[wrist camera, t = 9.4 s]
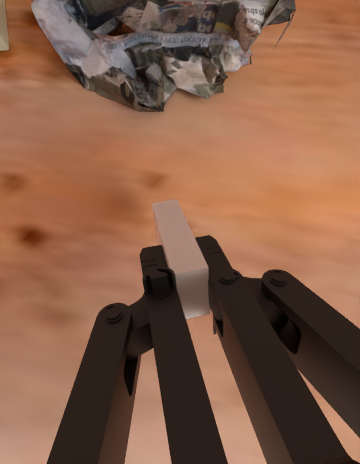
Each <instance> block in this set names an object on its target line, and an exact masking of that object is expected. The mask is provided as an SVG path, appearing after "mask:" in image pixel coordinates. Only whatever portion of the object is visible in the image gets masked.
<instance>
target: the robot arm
mask: <svg viewBox="0 0 360 464" xmlns="http://www.w3.org/2000/svg"><path fill="white" fill-rule="evenodd" d="M152 208H153V214H154V221H155V228H156V235H157V241H158V246H152V247H147V248H143V249H142V251H141V253H140V260H141V266H142V273H143V280H142V281H143V285H144V290H145V292H144V294H143V296H142V297H141V298H140V299H139V300H138V301H137V302H135V303H134V304H132V305H130V306H127V305H125V304H123V303H114V304H110V305H108V306H106V307H104V308H103V309H102V310H101V311H100V312H99V314H98V315H97V318H96V321H95V324H94V327H93V330H92V332H91V335H90V338H89V341H88V344H87V347H86V350H85V353H84V356H83V359H82V362H81V365H80V368H79V370H78V373H77V376H76V379H75V382H74V385H73V388H72V391H71V394H70V397H69V400H68V403H67V406H66V409H65V411H64V414H63V417H62V420H61V423H60V426H59V429H58V432H57V435H56V438H55V441H54V444H53V447H52V449H51V452H50V455H49V458H48V461H47V464H124V463H125V456H126V450H127V444H128V437H129V431H130V425H131V418H132V412H133V406H134V399H135V393H136V387H137V380H138V374H139V368H140V361H141V355H142V354H143V353H145V352H147V351H149V350H150V349H152V348H154V353H155V360H156V366H157V372H158V379H159V385H160V392H161V398H162V405H163V411H164V417H165V424H166V430H167V437H168V443H169V449H170V456H171V462H172V464H228V462H227V459H226V456H225V452H224V449H223V445H222V442H221V438H220V435H219V432H218V428H217V425H216V421H215V418H214V414H213V411H212V408H211V404H210V401H209V397H208V394H207V390H206V387H205V384H204V380H203V377H202V373H201V370H200V366H199V363H198V360H197V356H196V353H195V349H194V346H193V342H192V339H191V336H190V332H189V329H188V325H187V322H186V319H188V318H193V317H197V316H202V315H206V314H210V308H211V310H212V313H213V332H214V334H216V331H217V334H218V336H219V339H220V341H221V344H222V347H223V349H224V352H225V354H226V357H227V360H228V362H229V365H230V368H231V370H232V373H233V375H234V378H235V381H236V383H237V386H238V389H239V391H240V394H241V396H242V399H243V402H244V404H245V407H246V410H247V412H248V415H249V417H250V420H251V423H252V425H253V428H254V431H255V433H256V436H257V438H258V441H259V444H260V446H261V449H262V451H263V454H264V457H265V459H266V462H267V464H360V463H358V462H357V461H355V460H353V459H352V458H351V457H350V456H349V455H348V454H347V452H346V451H345V449H344V448H343V446H342V444H341V443H340V441H339V439H338V438H337V436H336V434H335V433H334V431H333V429H332V427H331V426H330V424H329V422H328V421H327V419H326V417H325V416H324V414H323V412H322V410H321V409H320V407H319V405H318V404H317V402H316V400H315V399H314V397H313V395H312V393H311V392H310V390H309V388H308V387H307V385H306V383H305V382H304V380H303V378H302V376H301V375H300V373H299V371H300V372H301V373H302V374H303V375H304V377H305V378H306V379H307V380H308V381H309V382H310V383H311V384H312V385H313V387H314V388H315V389H316V390H317V391H318V392H319V393H320V394H321V395H322V397H323V398H324V399H325V400H326V401H327V402H328V403H329V404H330V405H331V407H332V408H333V409H334V410H335V411H336V412H337V413H338V414H339V416H340V417H341V418H342V419H343V420H344V421H345V422H346V423H347V424H348V426H349V427H350V428H351V429H352V430H353V431H354V432H355V433H356V434H357V436H358V437H359V438H360V329H359V328H358V327H357V326H355V325H354V324H353V323H352V322H350V321H349V320H348V319H347V318H345V317H344V316H343V315H341V314H340V313H339V312H338V311H336V310H335V309H334V308H333V307H331V306H330V305H329V304H328V303H326V302H325V301H324V300H323V299H321V298H320V297H319V296H318V295H316V294H315V293H314V292H313V291H311V290H310V289H309V288H307V287H306V286H305V285H304V284H302V283H301V282H300V281H299V280H297V279H296V278H295V277H294V276H292V275H291V274H289V273H288V272H286V271H283V270H274V269H273V270H269V271H267V272H265V273H264V274H263V276H262V278H247V277H243V276H242V275H241V274H240V273H239V272H238V271H236V270H234V269H232V267H231V265H230V263H229V261H228V260H227V258H226V256H225V254H224V253H223V252H222V249H221V247H220V246H219V244H218V242H217V240H216V239H214V238H213V237H211V236H210V235H208V236H202V237H197V238H195V237H194V235H193V233H192V231H191V229H190V226H189V224H188V222H187V220H186V218H185V216H184V213H183V211H182V209H181V207H180V205H179V203H178V200H177V199H173V200H167V201H161V202H155V203H152ZM297 369H298V370H299V371H298V370H297Z"/></svg>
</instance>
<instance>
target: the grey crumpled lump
mask: <svg viewBox="0 0 360 464" xmlns="http://www.w3.org/2000/svg"><path fill="white" fill-rule="evenodd" d="M31 7H32V11H33V13H34V15H35V17H36V20H37V22H38V24H39V26H40V27H41V29H42V30H43V32H44V34H45V35H46V37H47V38H48V40H49V41H50V43H51V44H52V46H53V47H54V49H55V50H56V52H57V53H58V55H59V56H60V58H61V59H62V61H63V62H64V64H65V65H66V67H67V68H68V69H69V70H70V71H71V73H72V74H73V75H74V76H75V77H76V78H77V80H78V81H79V82H80V83H81V84H82V85H83V87H84V88H85V89H86V90H89V91H94V92H96V93H97V94H99V95H100V96H102V97H105V98H108V99H111V100H114V101H117V102H119V103H122V104H125V105H128V106H131V107H134V109H136V110H137V111H148V112H163V109H164V105H165V103H166V102H167V101H168V99H169V98H170V97H171V95H172V94H173V92H174V91H175V90H176V88H180V89H182V90H185V91H188V92H190V93H193V94H195V95H198V96H200V97H203V98H205V99H209V98H210V96H211V95H212V94H213V93H221V92H224V90H223V83H224V81H225V79H226V78H228V76H227V75H226V74H225V73H226V72H233V71H237V70H238V69H239V68H240V67H241V66H243V65H247V64H248V57H249V56H250V64H252V63H251V55H252V52H251V50H250V47H251V46H252V44H253V43H254V41H255V40H256V38H257V37H258V35H259V34H262V33H261V29H263V28H264V27H265V26H267V25H273V24H279V23H284V22H287V21H289V20H290V21H289V23H288V24H287V26H286V28H285V30H286V29H287V27H288V26H289V24H290V22H291V21H292V18H293V15H294V13H295V10H296V9H295V0H34V1H33V2H32V3H31ZM293 10H294V13H293V14H292V17H291V19H290V15H291V13H292V12H293ZM122 23H124V24H126V25H127V26H128V27H130V28H131V29H132V30H134V31H135V32H133V33H128V34H123V35H119V36H114V37H113V36H109V35H108V34H109V33H111V32H113V31H118V30H120V29H121V28H122ZM262 27H263V28H262ZM285 30H284V32H285ZM284 32H283V33H282V35H283V34H284ZM282 35H281V37H282ZM281 37H280V39H281ZM280 39H279V40H280ZM278 42H279V41H278ZM278 42H277V43H278ZM276 45H277V44H276ZM275 47H276V46H275ZM272 52H273V51H272ZM135 77H137V78H138V81H136V80H134V78H135Z"/></svg>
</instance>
